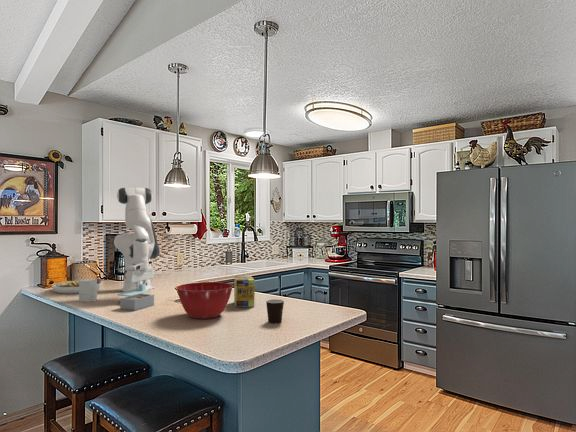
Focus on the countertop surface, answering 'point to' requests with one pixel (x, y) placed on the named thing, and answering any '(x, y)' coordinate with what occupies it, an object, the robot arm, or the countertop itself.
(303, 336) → the countertop surface
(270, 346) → the countertop surface
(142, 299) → the tub
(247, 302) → the protein box
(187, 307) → the mixing bowl
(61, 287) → the bowl
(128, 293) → the lid
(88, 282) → the supplement box
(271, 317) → the coffee mug
